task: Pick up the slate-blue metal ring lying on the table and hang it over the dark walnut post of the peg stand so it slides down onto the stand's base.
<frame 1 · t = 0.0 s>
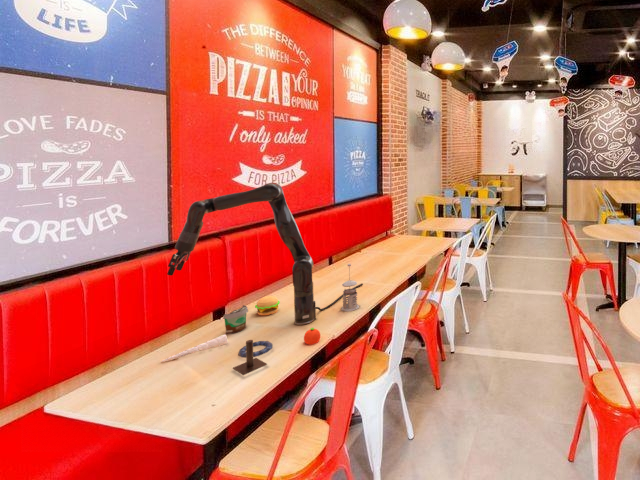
hand: (174, 272, 183), 31 cm above the table, tool tilted 20°, fingers open, 8 cm apart
unicorn horn: (197, 353, 168), on the table
ring: (255, 349, 168), point 1 cm above the table
peg stand: (250, 369, 154), on the table
food container: (239, 330, 191), on the table
clementine: (312, 344, 175), on the table
french press: (349, 308, 215), on the table
hamburger: (267, 312, 212), on the table
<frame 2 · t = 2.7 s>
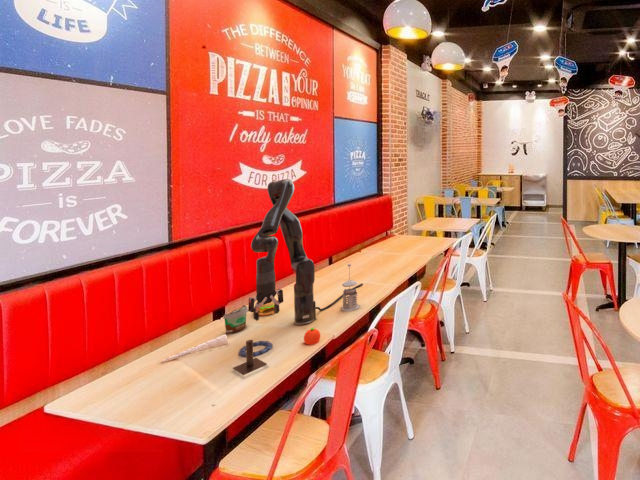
hand: (266, 316, 172), 14 cm above the table, tool pointing down, fingers open, 8 cm apart
nothing on the table moved.
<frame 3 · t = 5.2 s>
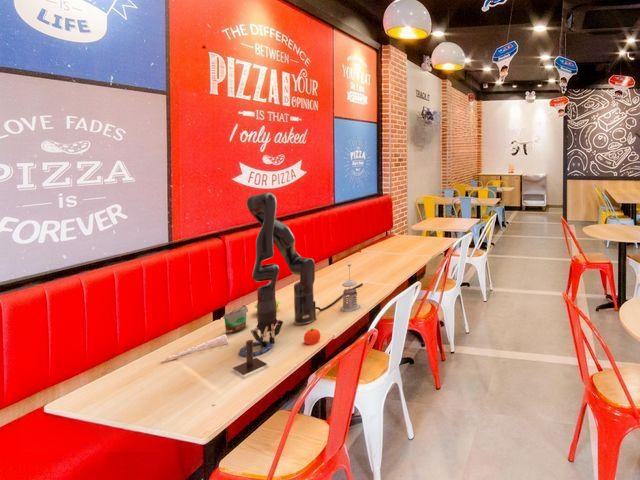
hand: (267, 347, 172), 0 cm above the table, tool pointing down, fingers closed on ring, 2 cm apart
ring: (255, 349, 168), point 1 cm above the table, touching gripper
everything else where it was.
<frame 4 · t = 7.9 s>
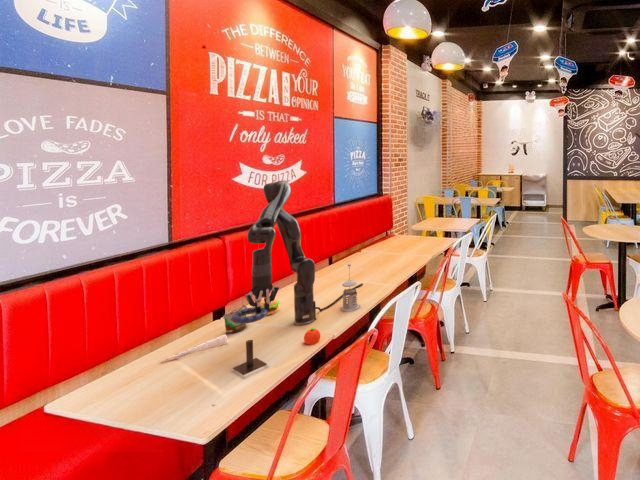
hand: (262, 313, 164), 19 cm above the table, tool pointing down, fingers closed on ring, 2 cm apart
ring: (249, 315, 160), point 20 cm above the table, touching gripper
everything else where it was.
when the fingers open (10 cm above the table, at t = 10.9 s): ring drops 8 cm, resting on peg stand.
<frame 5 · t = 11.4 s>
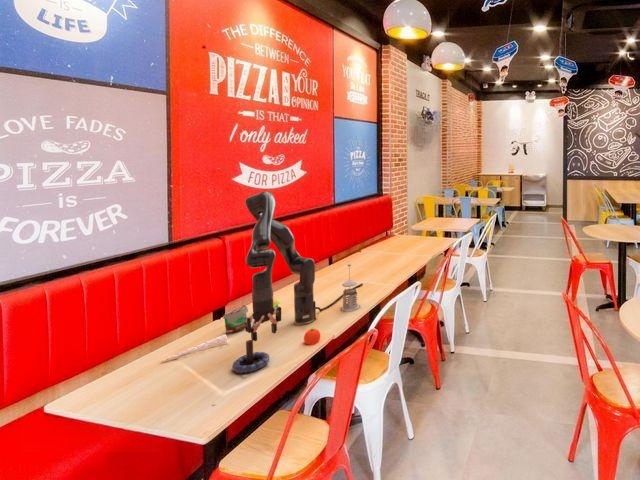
hand: (264, 336, 159), 11 cm above the table, tool pointing down, fingers open, 7 cm apart
ring: (251, 362, 154), point 3 cm above the table, touching peg stand
everything else where it was.
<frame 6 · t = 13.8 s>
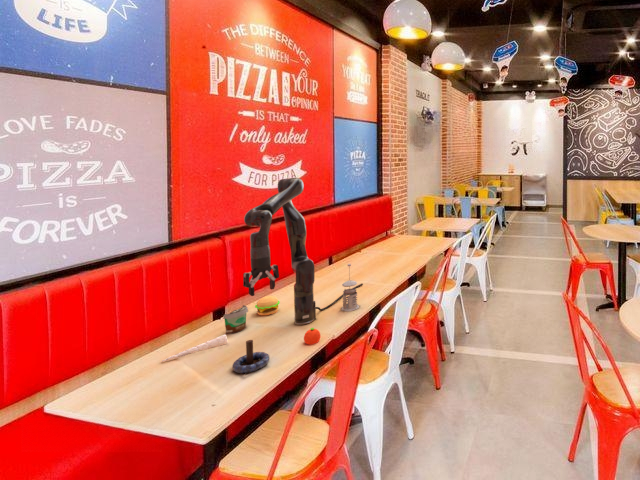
hand: (262, 292, 167), 27 cm above the table, tool pointing down, fingers open, 8 cm apart
nothing on the table moved.
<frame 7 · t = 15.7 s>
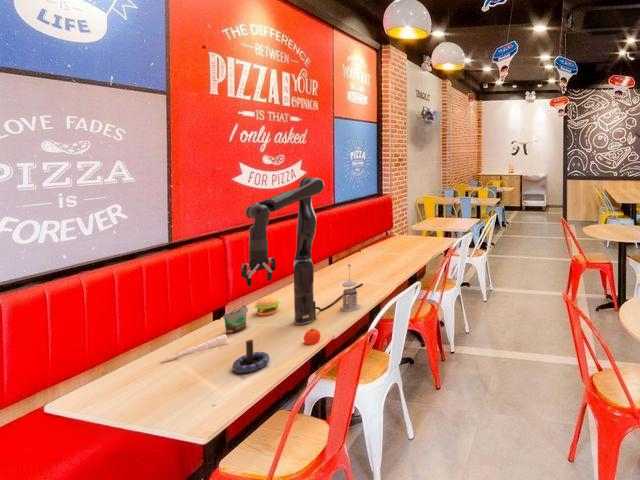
hand: (259, 283, 175), 28 cm above the table, tool pointing down, fingers open, 8 cm apart
nothing on the table moved.
at the end: ring 0.5 cm off-centre on the peg stand, point 2.8 cm above the peg stand's base; the gripper is holding nothing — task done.
